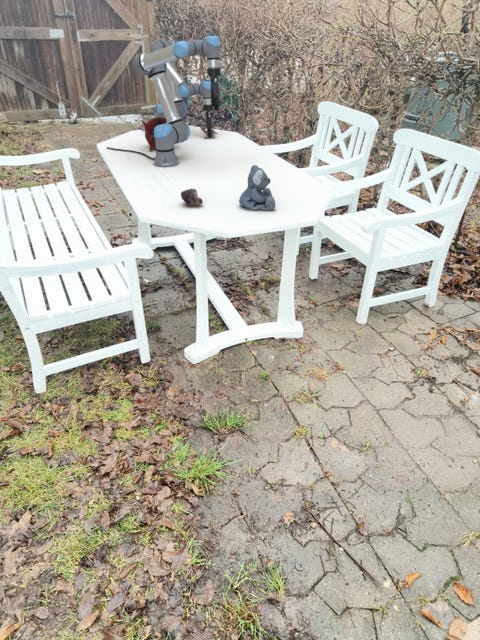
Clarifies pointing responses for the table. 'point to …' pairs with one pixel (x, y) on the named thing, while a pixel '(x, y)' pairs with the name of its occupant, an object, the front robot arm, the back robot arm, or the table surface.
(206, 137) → the dinosaur figurine
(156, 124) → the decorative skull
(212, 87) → the front robot arm
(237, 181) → the table surface
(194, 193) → the rock
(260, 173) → the koala plush
